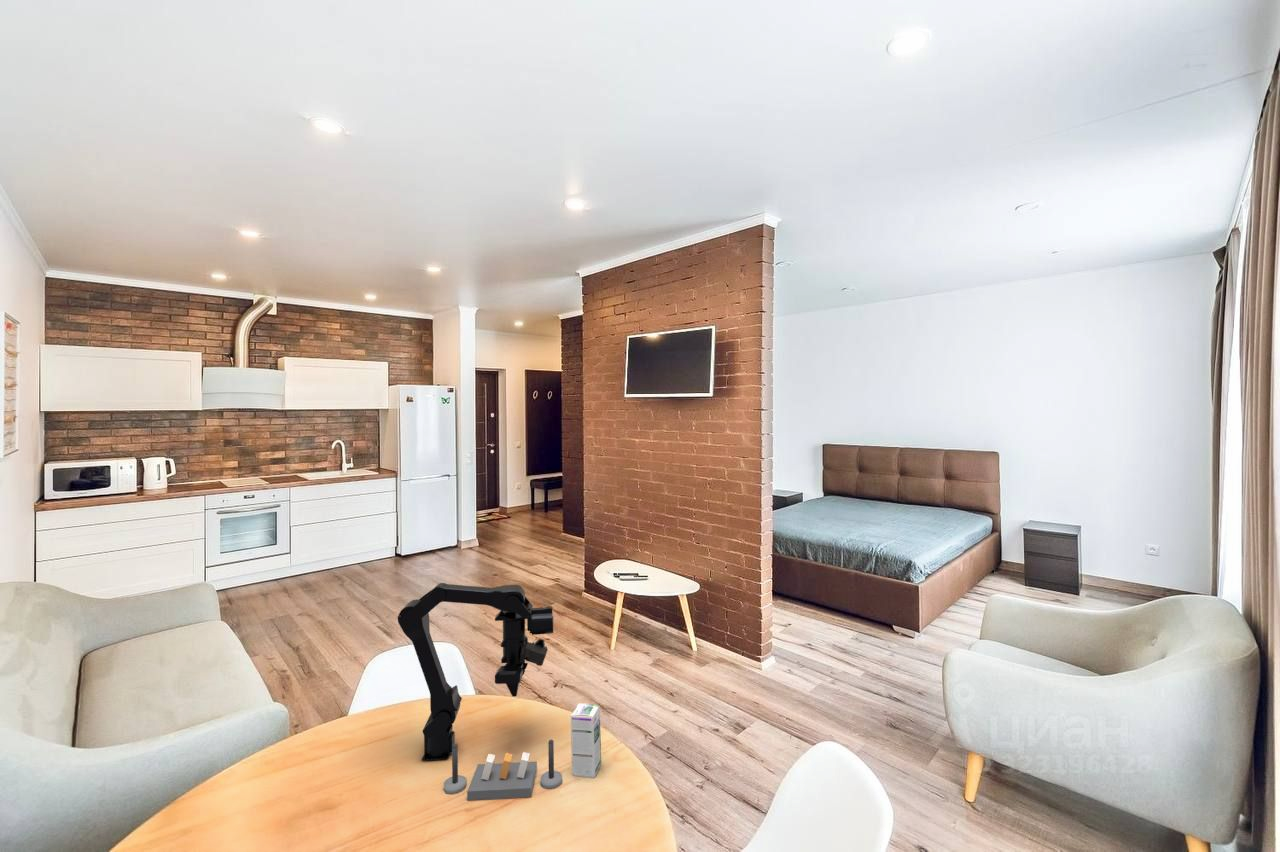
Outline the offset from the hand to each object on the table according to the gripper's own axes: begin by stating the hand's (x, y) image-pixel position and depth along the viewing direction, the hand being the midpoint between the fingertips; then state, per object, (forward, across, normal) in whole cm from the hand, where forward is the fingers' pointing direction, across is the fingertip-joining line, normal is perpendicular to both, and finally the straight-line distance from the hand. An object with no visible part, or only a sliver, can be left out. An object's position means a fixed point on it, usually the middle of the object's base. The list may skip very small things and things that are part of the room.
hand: (514, 695), depth 141 cm
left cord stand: (+13, -16, +11) cm, 23 cm away
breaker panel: (+13, -16, 0) cm, 20 cm away
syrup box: (+13, -11, -19) cm, 26 cm away
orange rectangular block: (+11, -16, 0) cm, 19 cm away
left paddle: (+11, -16, +4) cm, 20 cm away
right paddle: (+11, -16, -4) cm, 19 cm away
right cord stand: (+13, -15, -11) cm, 23 cm away
